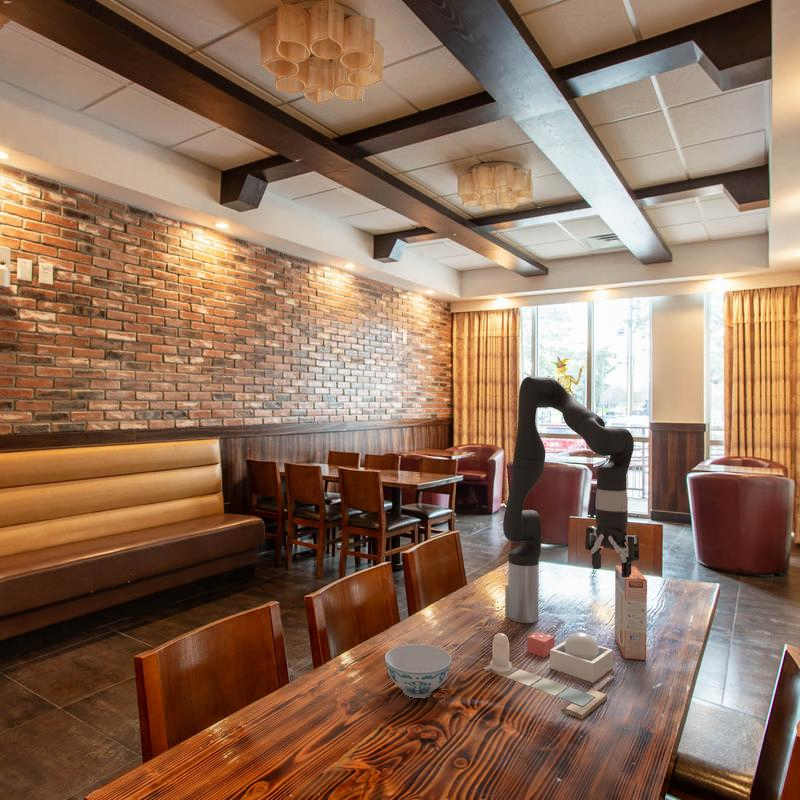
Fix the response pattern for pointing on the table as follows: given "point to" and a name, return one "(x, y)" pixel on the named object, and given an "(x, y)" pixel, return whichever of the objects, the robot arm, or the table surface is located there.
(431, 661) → the chinaware
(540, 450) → the robot arm
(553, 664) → the button housing
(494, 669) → the pawn
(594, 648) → the dome
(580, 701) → the board
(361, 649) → the table surface
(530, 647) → the die
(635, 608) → the cracker box
